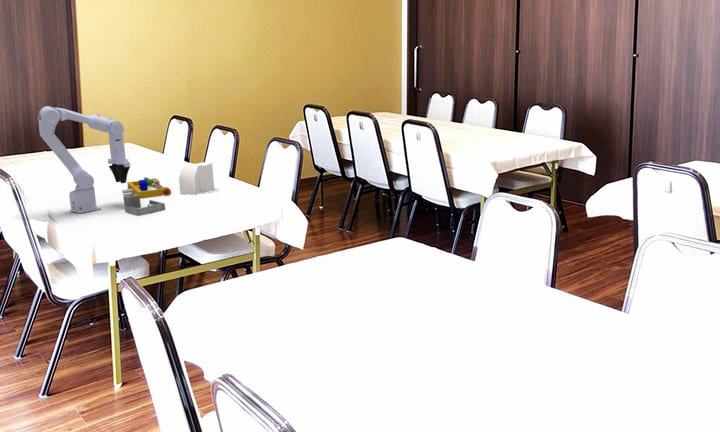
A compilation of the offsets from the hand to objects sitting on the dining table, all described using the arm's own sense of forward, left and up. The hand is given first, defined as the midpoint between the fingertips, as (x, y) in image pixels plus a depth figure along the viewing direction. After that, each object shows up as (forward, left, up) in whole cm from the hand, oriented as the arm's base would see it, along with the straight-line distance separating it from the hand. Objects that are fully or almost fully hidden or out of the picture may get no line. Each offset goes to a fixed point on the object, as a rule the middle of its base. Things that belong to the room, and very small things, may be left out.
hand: (121, 182), depth 321 cm
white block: (+33, -5, -10) cm, 35 cm away
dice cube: (0, -7, -10) cm, 12 cm away
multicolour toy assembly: (+19, +16, -10) cm, 27 cm away
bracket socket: (0, -16, -9) cm, 19 cm away
